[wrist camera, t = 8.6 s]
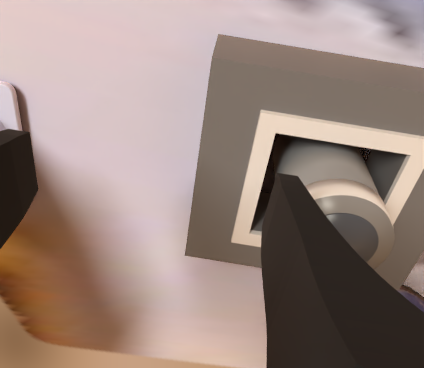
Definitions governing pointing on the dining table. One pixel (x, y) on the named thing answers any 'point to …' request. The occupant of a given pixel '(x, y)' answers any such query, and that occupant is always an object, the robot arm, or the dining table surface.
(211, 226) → the grey frame block
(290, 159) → the lens
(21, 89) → the dining table surface
